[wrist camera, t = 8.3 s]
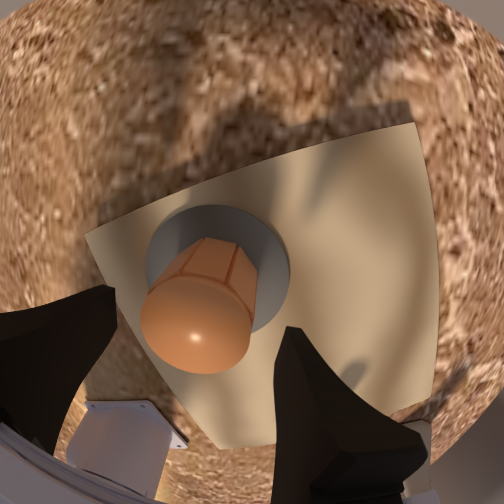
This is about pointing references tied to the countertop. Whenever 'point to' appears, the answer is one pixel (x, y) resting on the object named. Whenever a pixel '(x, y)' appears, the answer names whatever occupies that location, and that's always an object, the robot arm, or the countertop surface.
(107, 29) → the countertop surface
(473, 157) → the countertop surface
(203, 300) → the orange domed tapered piece
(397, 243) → the board
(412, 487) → the flask
